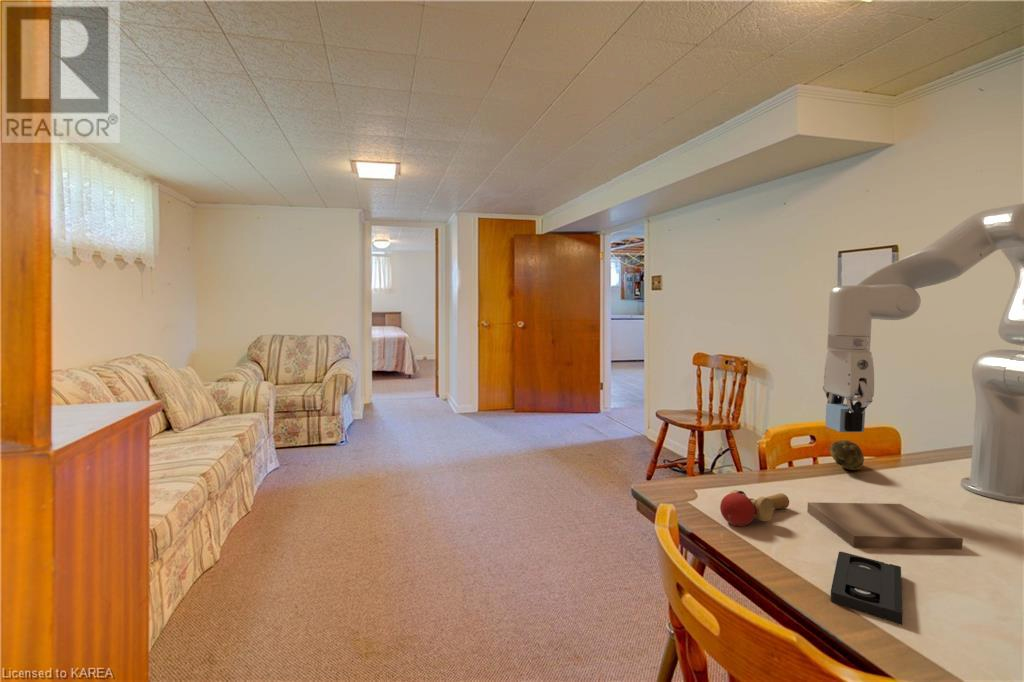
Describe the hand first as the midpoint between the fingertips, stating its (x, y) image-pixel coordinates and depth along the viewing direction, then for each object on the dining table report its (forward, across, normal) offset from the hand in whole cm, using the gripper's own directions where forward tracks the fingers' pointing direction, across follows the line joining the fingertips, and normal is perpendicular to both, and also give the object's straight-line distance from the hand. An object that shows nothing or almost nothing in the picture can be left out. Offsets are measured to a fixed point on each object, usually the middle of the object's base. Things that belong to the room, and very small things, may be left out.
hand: (844, 426), depth 104 cm
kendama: (+16, -11, +23) cm, 30 cm away
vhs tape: (+16, -35, +18) cm, 43 cm away
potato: (+16, +17, -12) cm, 26 cm away
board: (+15, -16, +3) cm, 22 cm away
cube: (+1, 0, 0) cm, 1 cm away
